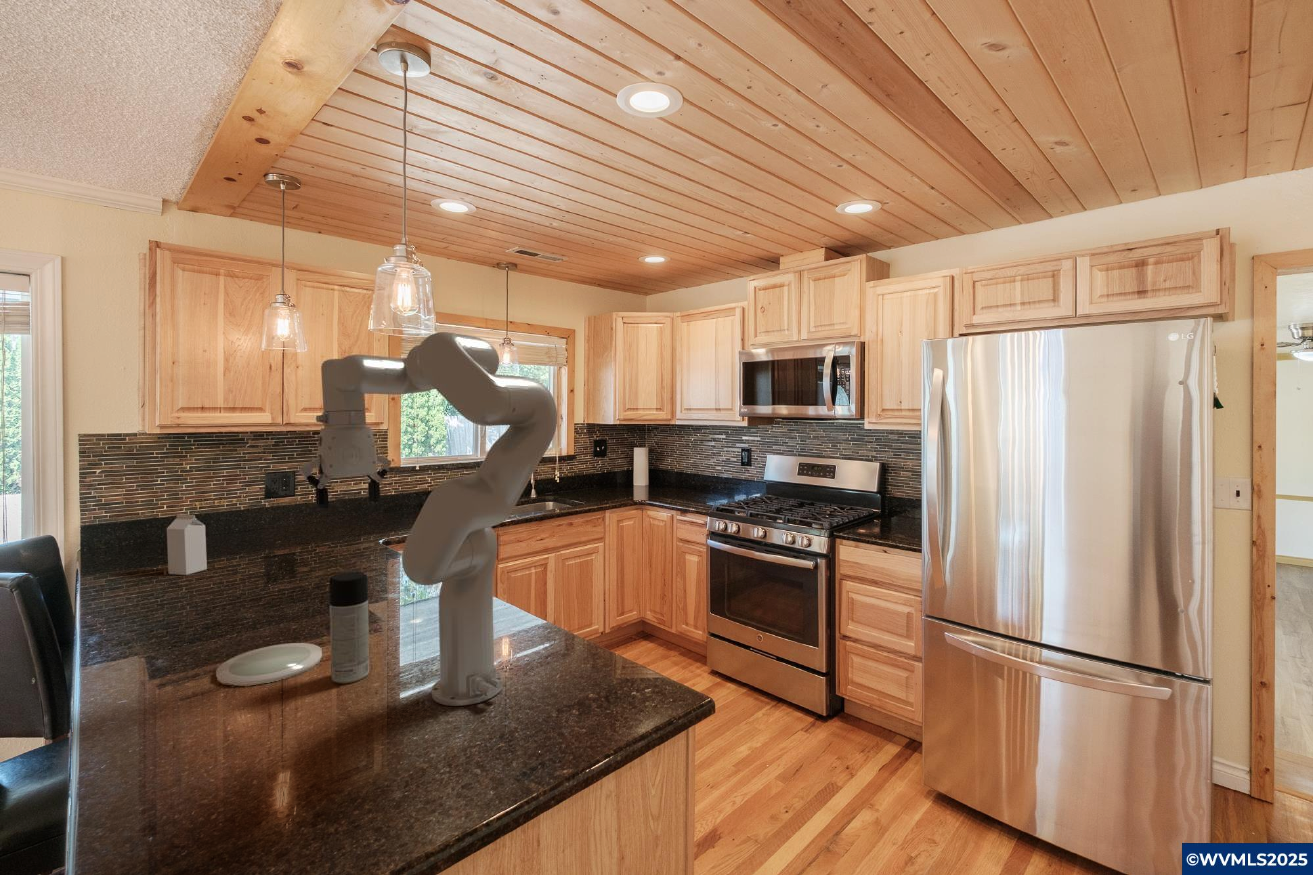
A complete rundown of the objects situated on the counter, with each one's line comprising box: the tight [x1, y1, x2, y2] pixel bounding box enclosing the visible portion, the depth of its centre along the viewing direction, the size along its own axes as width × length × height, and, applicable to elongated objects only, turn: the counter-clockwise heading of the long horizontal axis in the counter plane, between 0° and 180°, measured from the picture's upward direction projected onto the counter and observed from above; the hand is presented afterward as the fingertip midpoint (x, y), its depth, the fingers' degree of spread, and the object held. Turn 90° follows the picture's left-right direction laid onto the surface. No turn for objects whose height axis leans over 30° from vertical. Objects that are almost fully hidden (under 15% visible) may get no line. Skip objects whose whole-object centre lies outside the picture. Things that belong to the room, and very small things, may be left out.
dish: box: [215, 642, 323, 685], centre depth 119 cm, size 18×18×1 cm
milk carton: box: [166, 514, 208, 576], centre depth 192 cm, size 7×7×19 cm
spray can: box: [329, 571, 370, 685], centre depth 114 cm, size 7×7×20 cm
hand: (349, 504), depth 119 cm, fingers open, 9 cm apart
